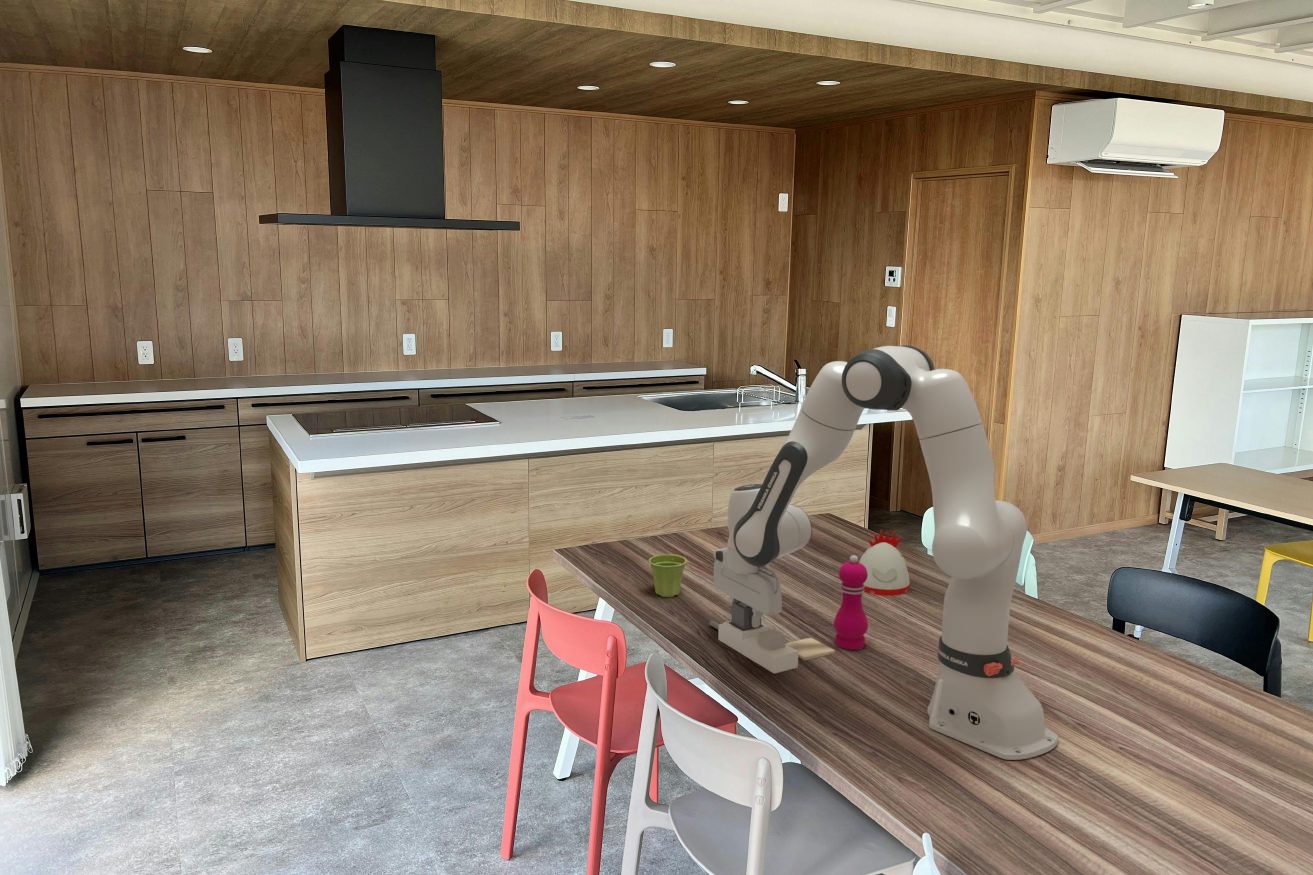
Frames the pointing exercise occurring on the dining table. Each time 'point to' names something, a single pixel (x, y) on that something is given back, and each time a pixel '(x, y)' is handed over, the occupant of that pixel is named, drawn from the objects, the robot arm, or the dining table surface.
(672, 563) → the plant pot
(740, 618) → the block
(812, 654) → the coaster
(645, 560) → the dining table surface
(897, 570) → the kitchen timer
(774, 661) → the power strip
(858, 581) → the pepper mill
